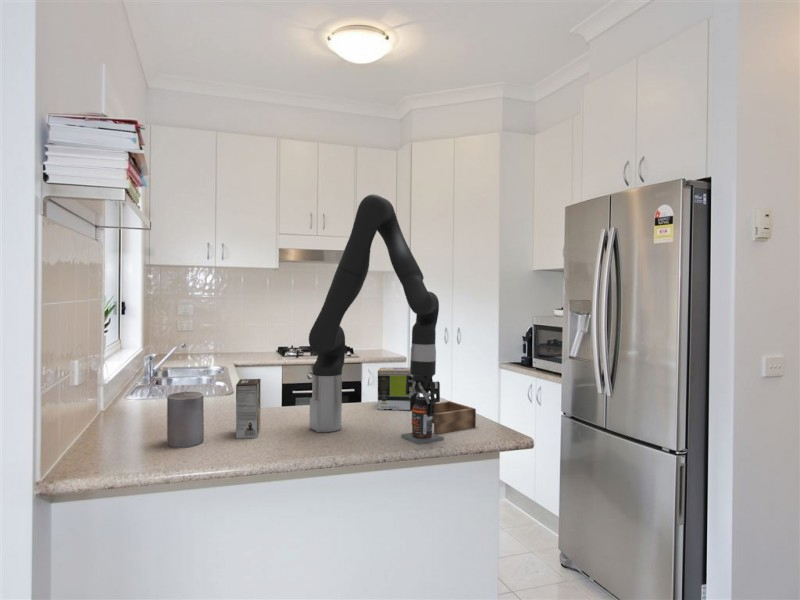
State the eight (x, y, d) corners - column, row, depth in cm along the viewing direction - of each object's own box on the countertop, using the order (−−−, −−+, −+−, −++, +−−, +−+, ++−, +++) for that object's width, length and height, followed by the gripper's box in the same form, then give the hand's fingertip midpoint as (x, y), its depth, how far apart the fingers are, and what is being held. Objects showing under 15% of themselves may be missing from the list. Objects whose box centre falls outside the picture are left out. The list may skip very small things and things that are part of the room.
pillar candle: (174, 438, 159) (173, 387, 158) (208, 437, 160) (207, 386, 159) (161, 448, 149) (161, 394, 149) (198, 448, 150) (198, 393, 149)
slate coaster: (418, 444, 155) (418, 441, 155) (401, 436, 163) (401, 434, 163) (443, 439, 160) (443, 437, 160) (425, 432, 168) (425, 430, 168)
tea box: (419, 405, 207) (420, 366, 207) (418, 411, 197) (418, 370, 197) (380, 404, 209) (381, 365, 208) (376, 410, 199) (377, 369, 198)
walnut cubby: (436, 434, 167) (436, 414, 167) (411, 424, 178) (411, 406, 178) (475, 427, 175) (475, 408, 175) (449, 418, 186) (449, 401, 186)
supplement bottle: (407, 435, 162) (408, 397, 162) (422, 432, 166) (423, 395, 165) (421, 439, 157) (421, 400, 157) (436, 436, 161) (436, 398, 161)
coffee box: (239, 430, 168) (239, 378, 168) (260, 429, 169) (261, 378, 169) (235, 438, 159) (235, 384, 159) (258, 438, 160) (258, 383, 160)
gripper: (448, 361, 157) (446, 417, 158) (419, 355, 169) (418, 407, 170) (426, 362, 153) (425, 420, 153) (399, 356, 165) (398, 409, 165)
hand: (421, 413), depth 162 cm, fingers open, 8 cm apart
